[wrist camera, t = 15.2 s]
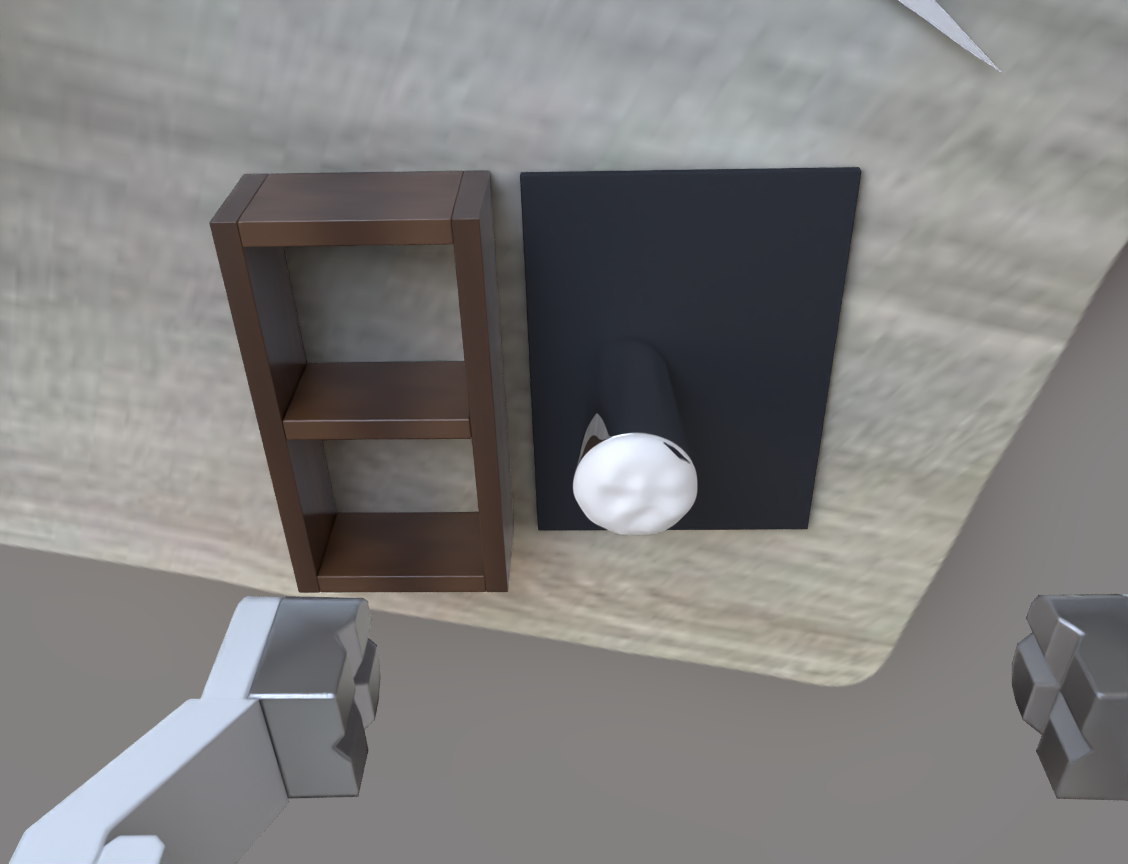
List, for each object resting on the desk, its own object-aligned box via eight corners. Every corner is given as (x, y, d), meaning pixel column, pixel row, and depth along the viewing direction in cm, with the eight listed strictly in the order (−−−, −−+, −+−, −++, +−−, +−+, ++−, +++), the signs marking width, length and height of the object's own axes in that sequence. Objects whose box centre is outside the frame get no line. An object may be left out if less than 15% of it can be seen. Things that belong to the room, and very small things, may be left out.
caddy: (319, 528, 51) (298, 592, 47) (243, 173, 40) (208, 221, 36) (514, 527, 50) (508, 592, 47) (489, 170, 40) (479, 218, 36)
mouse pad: (538, 525, 50) (538, 531, 50) (520, 172, 40) (520, 175, 39) (806, 524, 50) (807, 529, 49) (859, 166, 39) (861, 170, 39)
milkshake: (712, 338, 43) (741, 487, 35) (645, 428, 46) (657, 585, 38) (620, 290, 42) (628, 433, 34) (556, 385, 45) (550, 538, 37)
